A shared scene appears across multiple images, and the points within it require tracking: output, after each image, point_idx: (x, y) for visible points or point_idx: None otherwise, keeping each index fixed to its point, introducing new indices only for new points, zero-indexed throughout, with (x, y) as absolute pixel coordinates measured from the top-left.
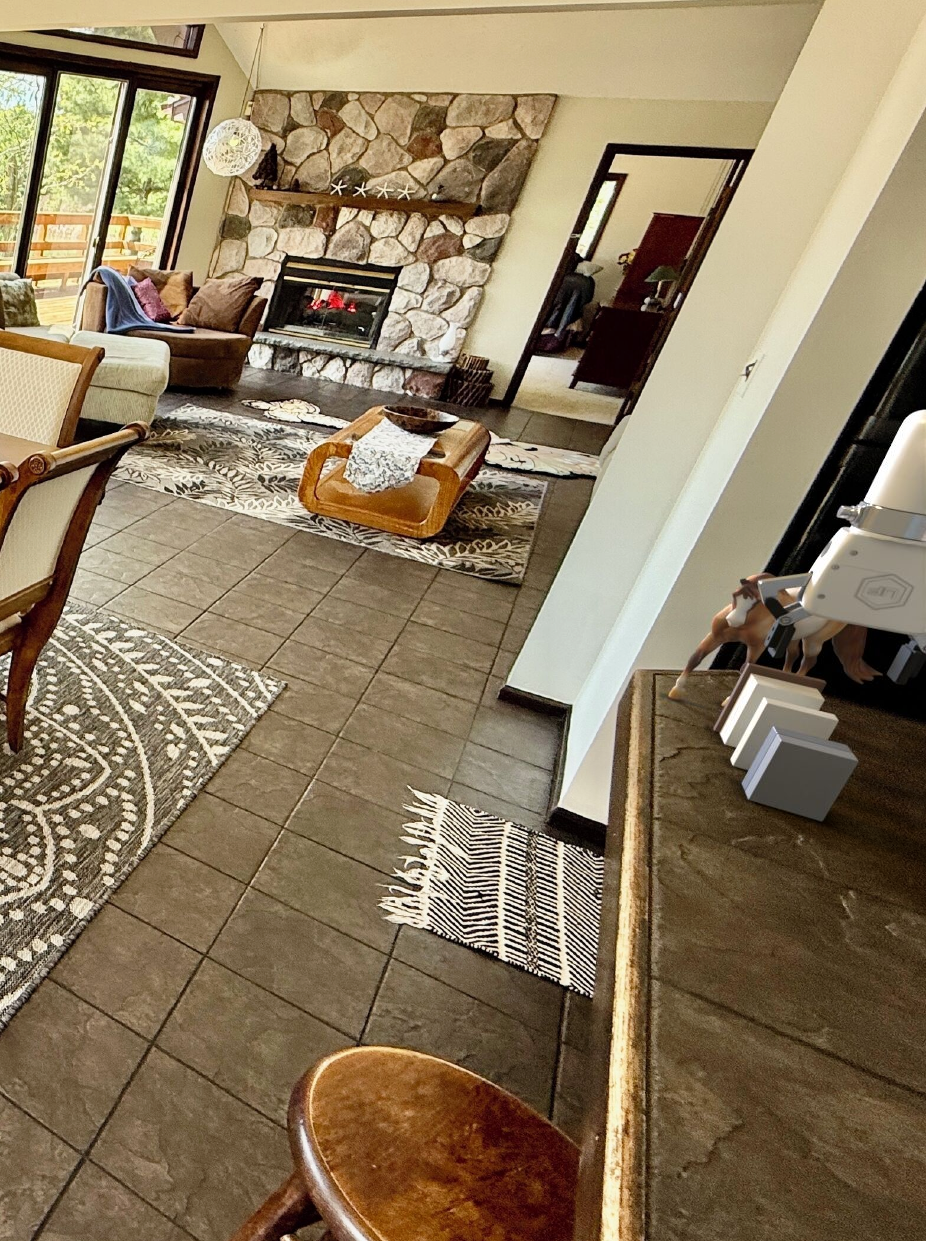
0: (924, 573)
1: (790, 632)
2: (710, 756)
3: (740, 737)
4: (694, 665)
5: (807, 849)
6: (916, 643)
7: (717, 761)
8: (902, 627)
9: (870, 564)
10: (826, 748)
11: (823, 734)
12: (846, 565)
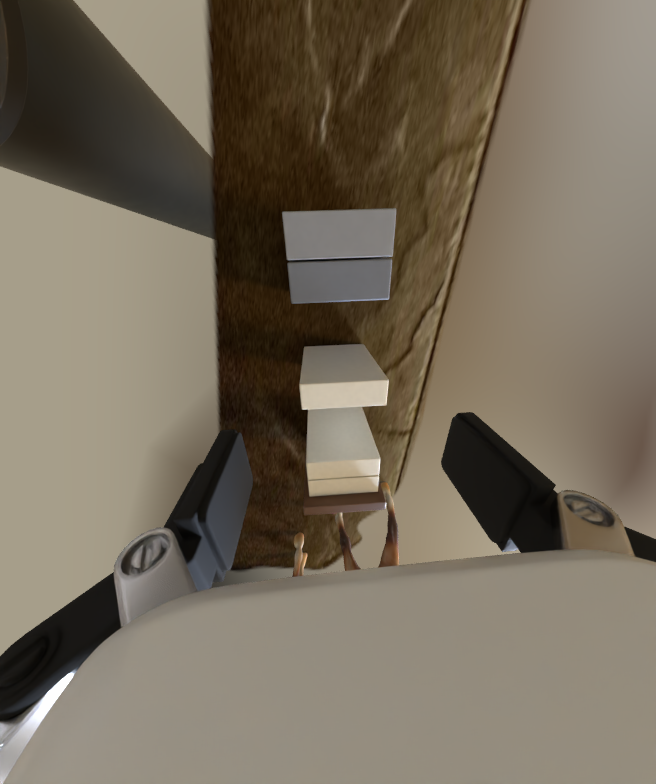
0: None
1: (526, 468)
2: (380, 355)
3: (353, 410)
4: (391, 520)
5: (320, 73)
6: (187, 564)
7: (376, 345)
8: (239, 631)
9: None
10: (325, 241)
11: (308, 372)
12: None
